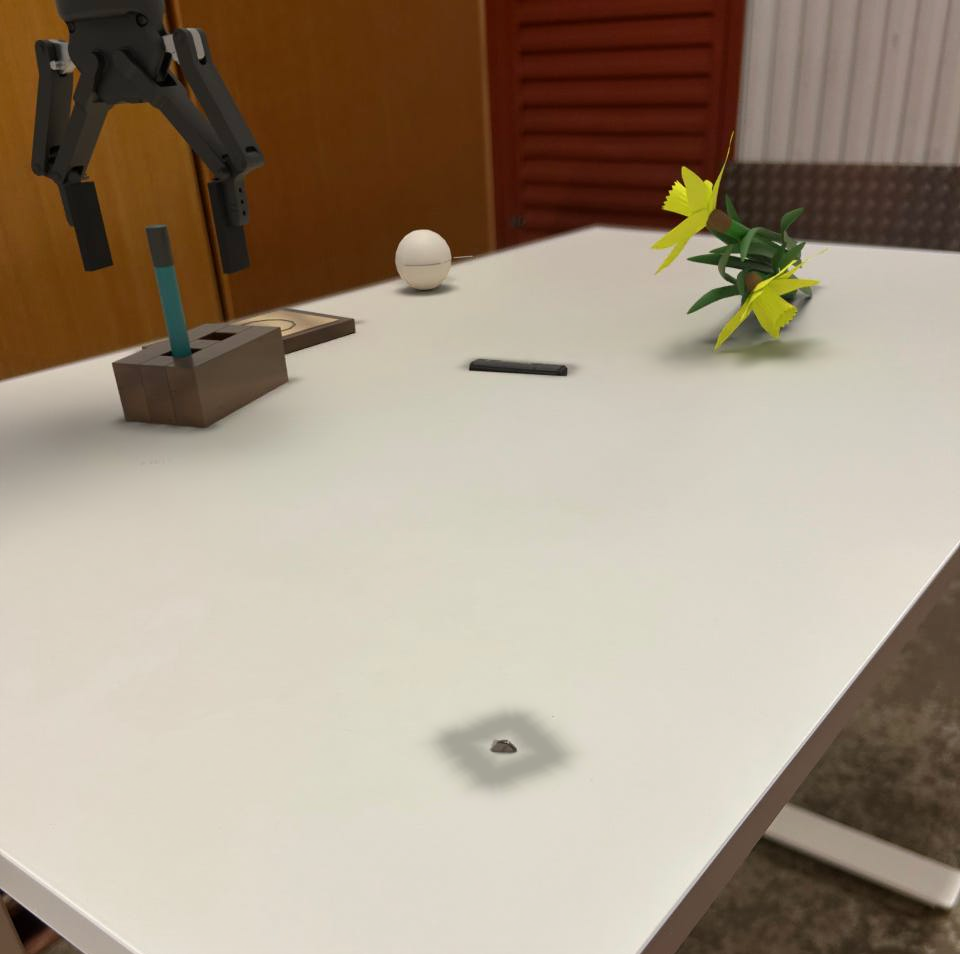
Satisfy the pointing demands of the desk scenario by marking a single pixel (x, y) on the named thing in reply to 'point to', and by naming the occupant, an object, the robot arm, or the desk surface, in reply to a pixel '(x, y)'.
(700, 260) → the daffodil flowers
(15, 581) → the desk surface
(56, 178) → the robot arm
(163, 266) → the pen
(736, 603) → the desk surface
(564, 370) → the usb stick
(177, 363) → the pen block
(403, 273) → the seamed sphere
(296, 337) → the picture frame
